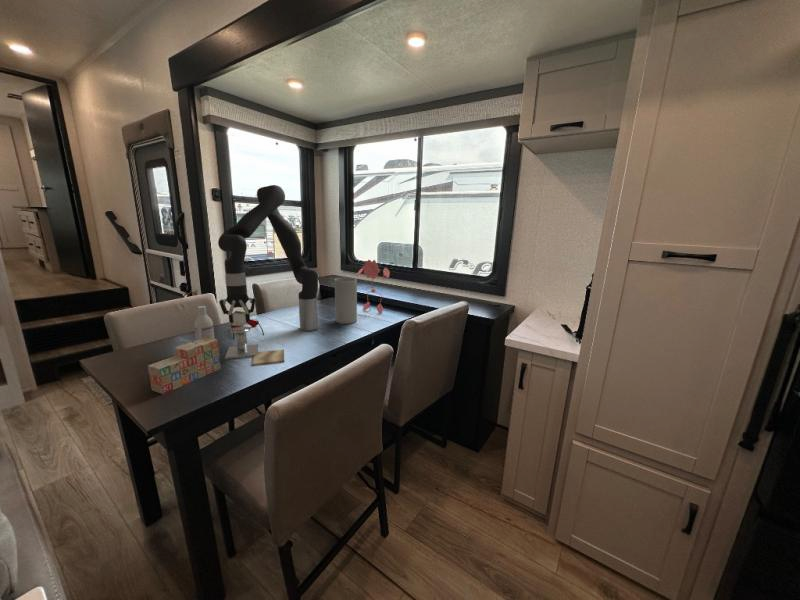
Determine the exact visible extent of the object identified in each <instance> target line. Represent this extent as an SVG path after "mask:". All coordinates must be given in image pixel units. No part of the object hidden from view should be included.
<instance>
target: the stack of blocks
mask: <svg viewBox="0 0 800 600" xmlns="http://www.w3.org/2000/svg"><path fill="white" fill-rule="evenodd" d="M174 353H175V354H174V356H171V357H169V358H165V359H163V360H160V361H157V362H154V363H152V364H148V365H147V370H148V377H149V382H150V388H151V391H153V392H156V393H159V394H161V395H165V394H167V393H169V392H172V391H173V390H176V389H178V388H181V387H183V386H185V385H188V384H190V383H192V382H194V381H197V380H199V379H201V378H203V377H206V376H207V375H210V374H212V373H215V372H217V371H219V370H221V368H222V365H221V358H220V357H221V356H220V353H221V352H220V347H219V339H216V338H215V339H212V338H207V337H206V338H203V339H200V340H196V339H195V340H193V341H190V342H187V343H185V344H182V345H178V346H176V347H174Z"/></svg>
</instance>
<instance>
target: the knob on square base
mask: <svg viewBox="0 0 800 600" xmlns="http://www.w3.org/2000/svg"><path fill="white" fill-rule="evenodd" d="M229 331H230V333H232V334H233V333H234V334H235V340H236V346H229V347H228V349H227V352H226V354H225V356H224V360H225V361H227V360H235V359H236V360H238V359H245V358H254V355H257V352H259V344H258V343H257V344H248V339H247V333H248V332H250V331H251V326H243V327H242V326H241V327H236V328H231V327H230V329H229Z"/></svg>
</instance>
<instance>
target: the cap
mask: <svg viewBox="0 0 800 600" xmlns="http://www.w3.org/2000/svg"><path fill="white" fill-rule="evenodd" d="M232 316H233V323H232V325H234V326H241V327H242V325H243V326H246V325H248V324H247V322H246V312H245V311H244V310H240V311H239V310H235V311H233V312H232Z"/></svg>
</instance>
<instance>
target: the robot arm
mask: <svg viewBox="0 0 800 600" xmlns="http://www.w3.org/2000/svg"><path fill="white" fill-rule="evenodd" d="M285 194H286V193H285V191H284V190H283V187H281V186H279V185H276V184H270V185H267V186H262V187H259V188H258V189H257V191H256V199H257V201H258V204H257V205H256V206H254V207H253V208H252V209H249V211H247V212H246V213H245V214H244V215H243V216H241V218H240V219H239V220H238V221H237V223H235V225H234V226H231V227H230V228H229V229H227V230H226V231H224V232H223V233H222V234H221V235H220V236H219V239H218V242H217V245H218V248H219V249H220V250H221V251H223V252H226V253H231V255H230V257H228V258H225V260H224V270H225V271H224V272H225V276H224V277H225V286H226V287H225V288H226V298H225V299H222V298H221V299H220V300H219V301H218V302H219V303H218V304H219V306H220V308H221V311H222V314H223V315H227V316H228V321H229V323H230V325H231V324H232V323H233V316H232V313H233V312H234V309H235V308H236V309H237V308H242V310H243V311H245V312H246V322H248V321H249V320H250V319H251V313H253V312H254V311H255V306H256V298H255V297H249V296H248V288H247V277H246V272H245V271H246V270H245V258H246V254H247V249H248V245H247V241H246V239H248V238H250V237H251V236H253V234H254V232H256V230H257V229H258V228H259V227H260V225H262V223H263V222H264V221H265V220H266V219H267V218H268V221H269V223H270V224H271V226H272V228H273V230H274V232H275V234H276V237H277V239H278V241H279V244H280V245H281V248H282V250H283V251H284V254H285V256H286V258H287V260H288V262H289V265H290V267H291V270H292V273H293V276H294V278H295V281H296V282H297V283H298V284H300V285H301V291H299V292H298V314H299V330H300V331H304V332H309V331H310V332H312V331H315V330H318V329H319V317H318V315H319V313H318V302H317V294H318V292H319V276H318V273H317V270H316V269H314V268H310V267H307V265H306V263H305V260H304V259H303V255H302V243H301V239H300V237H299V234H298V233H297V231H296V229H295V227H293V226H292V224H290V222H288V221H287V220H286V219H285V218H284V216H283V215H282V213H280V211H279V209H278V208H280V207H281V206H282V205H283V204H284V202H285V200H286V195H285ZM248 302H249V304H250V305H251V306H250V309H249V307H248V305H247V303H248ZM227 303H228V304H229V305H230V307H229V310H228V308H227V307H226V304H227Z"/></svg>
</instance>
